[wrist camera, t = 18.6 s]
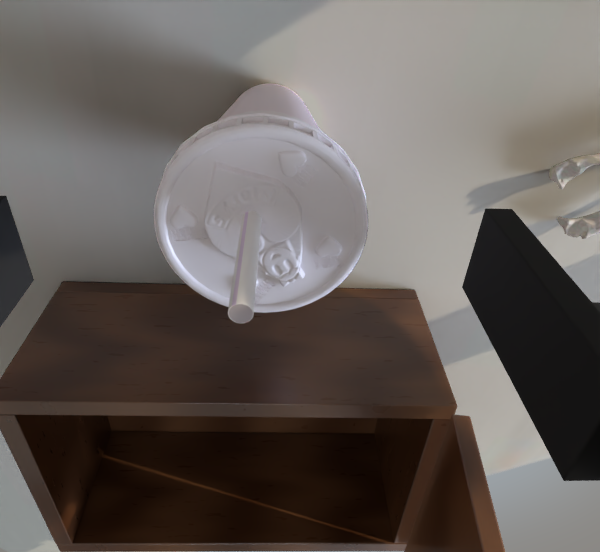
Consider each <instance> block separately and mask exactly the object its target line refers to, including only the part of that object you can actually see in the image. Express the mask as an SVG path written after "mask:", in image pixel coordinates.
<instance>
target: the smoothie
mask: <svg viewBox="0 0 600 552" xmlns="http://www.w3.org/2000/svg"><path fill="white" fill-rule="evenodd" d="M154 227H155V233H156V237H157V241H158V244H159V246H160V249H161V251H162V253H163V255H164V257H165V259H166V261H167V262H168V264H169V265H170V267H171V268H172V269H173V271H174V272H175V273H176V274H177V275H178V276H179V277H180V279H181V280H182V281H184V282H185V283H186V284H187V285H188V286H189V287H191V288H192V289H193V290H194V291H196V292H197V293H199V294H201V295H202V296H204V297H206V298H207V299H209V300H211V301H213V302H216V303H218V304H220V305H223V306H226V307H229V308H228V316H229V318H230V319H231V320H232V321H234V322H236V323H247V322H249V321H250V320H251V319H252V318H253V315H254V312H262V313H268V312H280V311H286V310H291V309H295V308H299V307H302V306H305V305H307V304H310V303H312V302H314V301H316V300H318V299H320V298H322V297H324V296H325V295H327V294H328V293H330V292H331V291H333V290H334V289H335V288H336V287H337V286H339V285H340V284H341V283H342V282H343V281H344V280H345V279H346V278H347V276H348V275H349V274H350V273H351V271H352V270H353V268H354V267H355V265H356V264H357V262H358V260H359V258H360V256H361V254H362V251H363V249H364V246H365V242H366V238H367V232H368V211H367V205H366V194H365V191H364V188H363V185H362V181H361V178H360V175H359V172H358V170H357V168H356V167H355V166H354V164H353V163H352V161H351V160H350V158H349V157H348V155H347V154H346V152H345V151H344V150H343V148H342V147H341V146H339V145H338V144H337V143H336V142H335V141H333V140H332V139H331V138H330V137H329V136H327V135H326V134H325V133H324V132H322V131H321V130H320V128H319V126H318V125H317V123H316V121H315V120H314V118H313V116H312V115H311V113H310V112H309V110H308V108H307V107H306V105H305V103H304V102H303V101H302V99H301V98H300V97H299V96H298V95H297V94H296V93H295V92H294V91H292V90H291V89H289V88H287V87H285V86H282V85H278V84H272V83H266V84H260V85H256V86H253V87H251V88H249V89H248V90H246V91H245V92H244V93H242V94H241V95H240V96H239V98H238V99H237V100H236V101H235V102H234V103H233V104H232V105H231V106H230V107H229V109H228V110H227V111H226V112H225V113H224V114H223V115H222V116H221V117H220V119H219V120H218V121H217V122H214V123H211V124H209V125H206V126H204V127H203V128H201V129H200V130H199V131H197V132H196V133H195V134H194V135H192V136H191V137H190V138H188V139H187V140H186V141H185V142H183V143H182V144H181V145H180V147H179V148H178V149H177V151H176V152H175V154H174V155H173V157H172V158H171V159H170V161H169V162H168V164H167V165H166V167H165V170H164V174H163V177H162V180H161V183H160V185H159V188H158V191H157V194H156V198H155V203H154Z"/></svg>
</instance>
